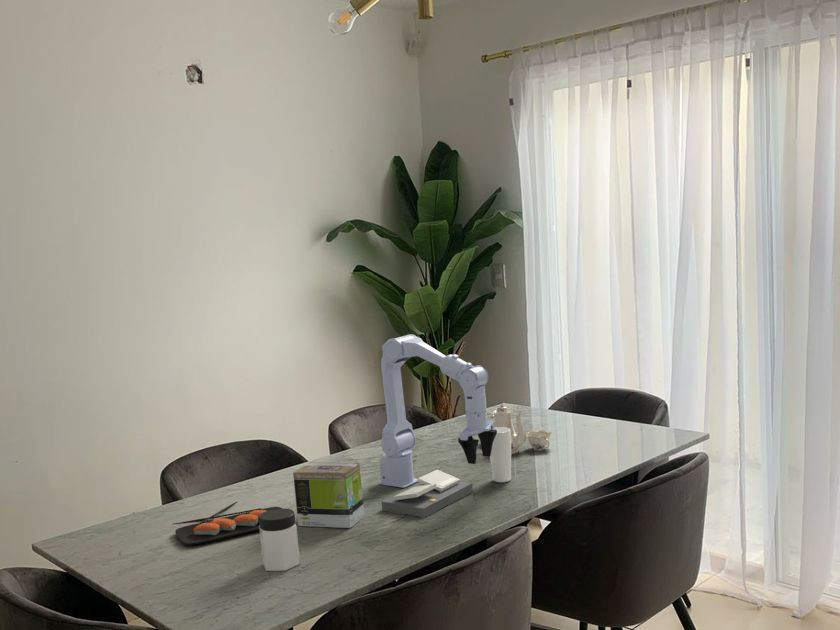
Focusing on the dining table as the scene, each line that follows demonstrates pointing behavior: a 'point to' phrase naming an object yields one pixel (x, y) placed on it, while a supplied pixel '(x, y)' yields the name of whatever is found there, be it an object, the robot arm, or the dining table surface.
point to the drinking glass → (501, 455)
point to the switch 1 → (415, 492)
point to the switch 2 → (439, 480)
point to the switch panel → (427, 500)
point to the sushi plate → (220, 526)
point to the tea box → (329, 495)
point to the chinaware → (519, 430)
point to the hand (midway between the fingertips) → (479, 459)
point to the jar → (278, 539)
